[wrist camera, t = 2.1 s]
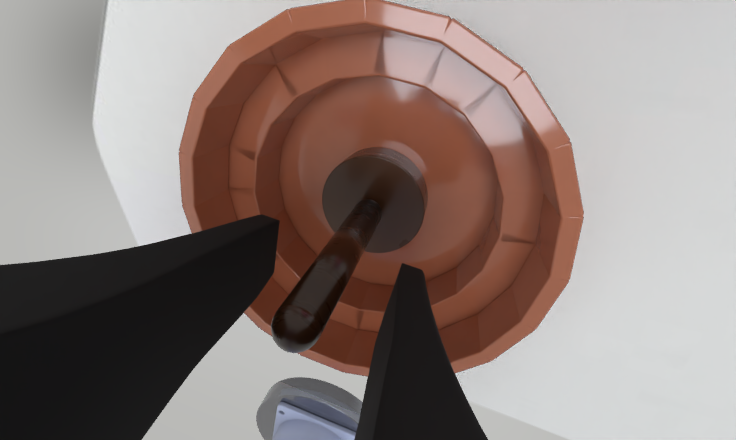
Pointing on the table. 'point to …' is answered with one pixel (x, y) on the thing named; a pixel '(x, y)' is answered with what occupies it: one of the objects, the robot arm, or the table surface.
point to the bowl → (407, 136)
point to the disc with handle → (352, 236)
